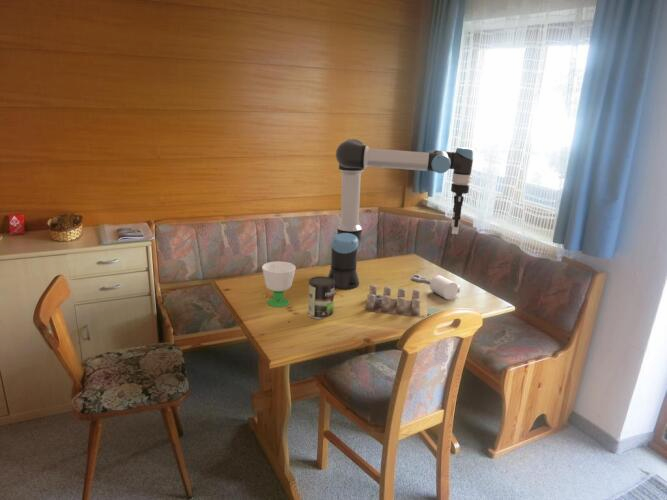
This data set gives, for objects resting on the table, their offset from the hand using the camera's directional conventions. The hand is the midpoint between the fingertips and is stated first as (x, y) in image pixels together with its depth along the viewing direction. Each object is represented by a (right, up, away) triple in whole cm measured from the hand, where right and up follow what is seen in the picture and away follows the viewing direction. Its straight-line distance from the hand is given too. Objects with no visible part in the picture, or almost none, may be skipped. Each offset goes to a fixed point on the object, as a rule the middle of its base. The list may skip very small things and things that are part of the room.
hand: (454, 230), depth 220 cm
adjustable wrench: (-7, -26, +10) cm, 29 cm away
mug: (-4, -29, -1) cm, 30 cm away
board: (-30, -33, -19) cm, 49 cm away
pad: (-15, -35, -21) cm, 43 cm away
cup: (-78, -31, -19) cm, 86 cm away
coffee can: (-60, -35, -27) cm, 74 cm away
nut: (-36, -32, -18) cm, 52 cm away
